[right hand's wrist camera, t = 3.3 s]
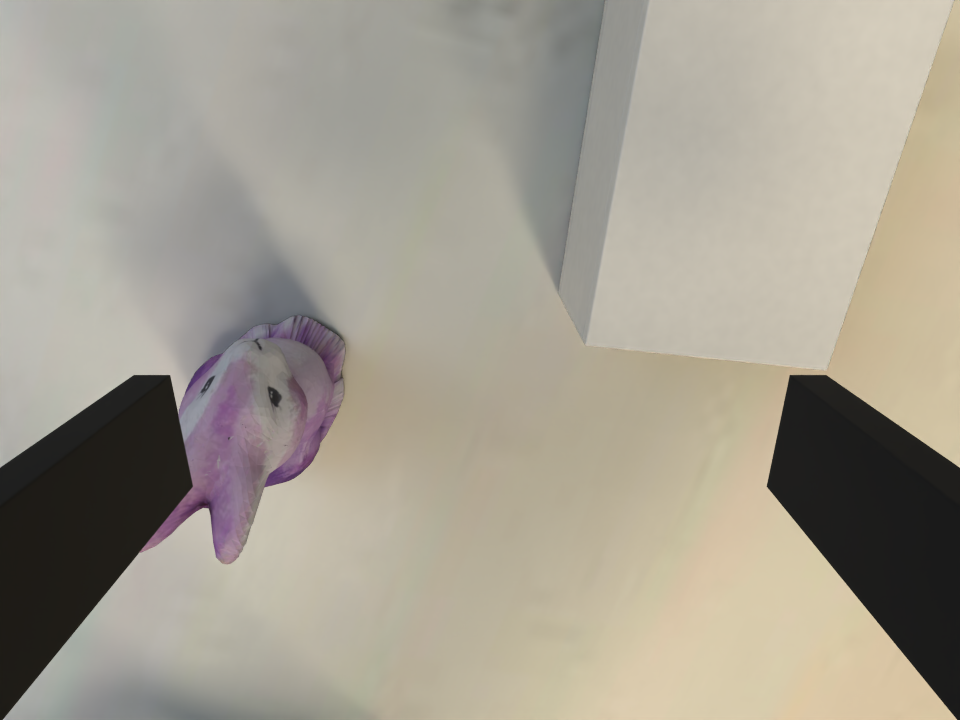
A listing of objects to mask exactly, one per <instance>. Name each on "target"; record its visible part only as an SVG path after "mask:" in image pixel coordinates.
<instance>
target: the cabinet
mask: <svg viewBox="0 0 960 720" xmlns="http://www.w3.org/2000/svg"><path fill="white" fill-rule="evenodd" d="M954 1H955V0H605V5H604V11H603V17H602V23H601V30H600V36H599V42H598V48H597V54H596V61H595V67H594V73H593V79H592V85H591V92H590V98H589V104H588V110H587V116H586V123H585V129H584V135H583V141H582V148H581V154H580V160H579V166H578V172H577V179H576V185H575V191H574V197H573V203H572V210H571V216H570V222H569V228H568V234H567V241H566V247H565V253H564V259H563V265H562V272H561V278H560V284H559V290H558V295H559V296H560V298H561V300H562V302H563V304H564V306H565V308H566V310H567V312H568V314H569V316H570V318H571V320H572V321H573V323H574V325H575V327H576V329H577V331H578V333H579V335H580V337H581V339H582V340H583V342H584V344H585V346H591V347H601V348H610V349H620V350H630V351H639V352H649V353H659V354H668V355H678V356H688V357H697V358H707V359H717V360H726V361H736V362H746V363H755V364H765V365H775V366H784V367H794V368H804V369H813V370H823V371H826V370H827V369H828V366H829V363H830V360H831V357H832V354H833V352H834V349H835V346H836V343H837V340H838V337H839V334H840V331H841V328H842V325H843V323H844V320H845V317H846V314H847V311H848V308H849V305H850V302H851V299H852V296H853V294H854V291H855V288H856V285H857V282H858V279H859V276H860V273H861V270H862V267H863V265H864V262H865V259H866V256H867V253H868V250H869V247H870V244H871V241H872V238H873V236H874V233H875V230H876V227H877V224H878V221H879V218H880V215H881V212H882V209H883V207H884V204H885V201H886V198H887V195H888V192H889V189H890V186H891V183H892V180H893V178H894V175H895V172H896V169H897V166H898V163H899V160H900V157H901V154H902V151H903V149H904V146H905V143H906V140H907V137H908V134H909V131H910V128H911V125H912V122H913V120H914V117H915V114H916V111H917V108H918V105H919V102H920V99H921V96H922V94H923V91H924V88H925V85H926V82H927V79H928V76H929V73H930V70H931V67H932V65H933V62H934V59H935V56H936V53H937V50H938V47H939V44H940V41H941V38H942V36H943V33H944V30H945V27H946V24H947V21H948V18H949V15H950V12H951V9H952V7H953V4H954Z"/></svg>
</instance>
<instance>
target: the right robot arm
mask: <svg viewBox="0 0 960 720" xmlns="http://www.w3.org/2000/svg"><path fill="white" fill-rule="evenodd" d="M192 487H193V483H192V479H191V474H190V469H189V464H188V459H187V454H186V450H185V445H184V440H183V435H182V430H181V426H180V421H179V416H178V411H177V406H176V401H175V397H174V392H173V387H172V382H171V377H170V375H133V376H132V377H131V378H129V379H128V380H126V381H125V382H123V383H122V384H120V385H119V386H118V387H116V388H115V389H113V390H112V391H110V392H109V393H107V394H106V395H105V396H103V397H102V398H100V399H99V400H97V401H96V402H95V403H93V404H92V405H90V406H89V407H87V408H86V409H84V410H83V411H82V412H80V413H79V414H77V415H76V416H74V417H73V418H71V419H70V420H69V421H67V422H66V423H64V424H63V425H61V426H60V427H58V428H57V429H56V430H54V431H53V432H51V433H50V434H48V435H47V436H45V437H44V438H43V439H41V440H40V441H38V442H37V443H35V444H34V445H32V446H31V447H30V448H28V449H27V450H25V451H24V452H22V453H21V454H19V455H18V456H17V457H15V458H14V459H12V460H11V461H9V462H8V463H6V464H5V465H4V466H2V467H1V468H0V720H3V719H4V717H5V716H6V715H7V714H8V713H9V711H10V710H11V709H12V708H13V706H14V705H15V704H16V703H17V702H18V700H19V699H20V698H21V697H22V695H23V694H24V693H25V692H26V691H27V689H28V688H29V687H30V686H31V684H32V683H33V682H34V681H35V680H36V678H37V677H38V676H39V675H40V673H41V672H42V671H43V670H44V668H45V667H46V666H47V665H48V664H49V662H50V661H51V660H52V659H53V657H54V656H55V655H56V654H57V653H58V651H59V650H60V649H61V648H62V646H63V645H64V644H65V643H66V642H67V640H68V639H69V638H70V637H71V635H72V634H73V633H74V632H75V631H76V629H77V628H78V627H79V626H80V624H81V623H82V622H83V621H84V620H85V618H86V617H87V616H88V615H89V613H90V612H91V611H92V610H93V609H94V607H95V606H96V605H97V604H98V602H99V601H100V600H101V599H102V597H103V596H104V595H105V594H106V593H107V591H108V590H109V589H110V588H111V586H112V585H113V584H114V583H115V582H116V580H117V579H118V578H119V577H120V575H121V574H122V573H123V572H124V571H125V569H126V568H127V567H128V566H129V564H130V563H131V562H132V561H133V560H134V558H135V557H136V556H137V555H138V553H139V552H140V551H141V550H142V549H143V547H144V546H145V545H146V544H147V542H148V541H149V540H150V539H151V538H152V536H153V535H154V534H155V533H156V531H157V530H158V529H159V528H160V526H161V525H162V524H163V523H164V522H165V520H166V519H167V518H168V517H169V515H170V514H171V513H172V512H173V511H174V509H175V508H176V507H177V506H178V504H179V503H180V502H181V501H182V500H183V498H184V497H185V496H186V495H187V493H188V492H189V491H190V490H191V489H192ZM767 487H768V489H769V490H770V491H771V492H772V493H773V495H774V496H775V497H776V498H777V500H778V501H779V502H780V503H781V504H782V506H783V507H784V508H785V509H786V511H787V512H788V513H789V514H790V515H791V517H792V518H793V519H794V520H795V522H796V523H797V524H798V525H799V526H800V528H801V529H802V530H803V531H804V533H805V534H806V535H807V536H808V538H809V539H810V540H811V541H812V542H813V544H814V545H815V546H816V547H817V549H818V550H819V551H820V552H821V553H822V555H823V556H824V557H825V558H826V560H827V561H828V562H829V563H830V564H831V566H832V567H833V568H834V569H835V571H836V572H837V573H838V574H839V575H840V577H841V578H842V579H843V580H844V582H845V583H846V584H847V585H848V586H849V588H850V589H851V590H852V591H853V593H854V594H855V595H856V596H857V597H858V599H859V600H860V601H861V602H862V604H863V605H864V606H865V607H866V609H867V610H868V611H869V612H870V613H871V615H872V616H873V617H874V618H875V620H876V621H877V622H878V623H879V624H880V626H881V627H882V628H883V629H884V631H885V632H886V633H887V634H888V635H889V637H890V638H891V639H892V640H893V642H894V643H895V644H896V645H897V646H898V648H899V649H900V650H901V651H902V653H903V654H904V655H905V656H906V657H907V659H908V660H909V661H910V662H911V664H912V665H913V666H914V667H915V668H916V670H917V671H918V672H919V673H920V675H921V676H922V677H923V678H924V680H925V681H926V682H927V683H928V684H929V686H930V687H931V688H932V689H933V691H934V692H935V693H936V694H937V695H938V697H939V698H940V699H941V700H942V702H943V703H944V704H945V705H946V706H947V708H948V709H949V710H950V711H951V713H952V714H953V715H954V716H955V717H956V719H957V720H960V468H959V467H958V466H956V465H955V464H954V463H952V462H951V461H949V460H948V459H946V458H945V457H943V456H942V455H941V454H939V453H938V452H936V451H935V450H933V449H932V448H930V447H929V446H928V445H926V444H925V443H923V442H922V441H920V440H919V439H917V438H916V437H915V436H913V435H912V434H910V433H909V432H907V431H906V430H904V429H903V428H902V427H900V426H899V425H897V424H896V423H894V422H893V421H891V420H890V419H889V418H887V417H886V416H884V415H883V414H881V413H880V412H878V411H877V410H876V409H874V408H873V407H871V406H870V405H868V404H867V403H865V402H864V401H863V400H861V399H860V398H858V397H857V396H855V395H854V394H853V393H851V392H850V391H848V390H847V389H845V388H844V387H842V386H841V385H840V384H838V383H837V382H835V381H834V380H832V379H831V378H829V377H828V376H827V375H790V377H789V382H788V387H787V392H786V397H785V401H784V406H783V411H782V416H781V421H780V426H779V430H778V435H777V440H776V445H775V450H774V454H773V459H772V464H771V469H770V474H769V479H768V483H767Z"/></svg>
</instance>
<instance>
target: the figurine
mask: <svg viewBox="0 0 960 720" xmlns="http://www.w3.org/2000/svg"><path fill="white" fill-rule="evenodd" d="M344 358H345V344H344V341H342V340H341V339H340V337H339V336H338V335H337V334H336V333H333V332H332V331H329V329H326V328H325V326H322V325H321V324H318V323H317V321H314V320H313V319H310V318H308V317H303V316H300V315H298V316H292V317H290V318H288V319H286V320H284V321H283V322H281V323H279V324H277V325H272V324H262V325H258V326H254V327H253V328H252V329H250V330H249V331H248V332H247V333H246V334H245V335H243V336H242V337H241V338H240V339H239V340H237V341H235V342H234V343H233V344H232V345H231V346H230V347H229V348H228V349H227V350H226V351H225V352H224V353H222V354H219V355H216V356H214V357H212V358H210V359H209V360H208V361H207V362H205V363H204V364H203V365H202V366H201V367H200V368H199V369H198V370H197V371H196V372H195V374H194V376H193V378H192V379H191V381H190V383H189V385H188V387H187V389H186V392H185V395H184V397H183V400H182V402H181V406H180V409H179V421H180V426H181V430H182V435H183V440H184V445H185V450H186V454H187V459H188V464H189V469H190V474H191V479H192V483H193V487H192V489H191V490H190V491H189V492H188V493H187V495H186V496H185V497H184V498H183V500H182V501H181V502H180V503H179V504H178V506H177V507H176V508H175V509H174V511H173V512H172V513H171V514H170V515H169V517H168V518H167V519H166V520H165V522H164V523H163V524H162V525H161V526H160V528H159V529H158V530H157V531H156V533H155V534H154V535H153V536H152V538H151V539H150V540H149V541H148V542H147V544H146V545H145V546H144V547H143V549H142V550H141V551H140V552H143V551H145V550H148V549H150V548H152V547H155V546H156V545H157V544H159V543H160V542H161V541H163V540H164V539H165V538H167V537H168V536H169V535H170V534H172V533H173V532H174V530H175V529H176V528H177V527H178V526H179V525H180V524H182V523H183V522H184V521H185V520H186V519H187V518H188V517H190V516H191V515H192V514H193V513H195V512H196V511H198V510H200V509H202V508H209V511H210V515H211V524H212V534H213V543H214V548H215V553H216V558H217V559H218V560H219V561H220V562H221V563H222V564H231V563H232V562H233V561H235V560H236V559H237V558H238V557H239V554H240V553H241V552H242V550H243V547H244V546H245V544H246V542H247V538H248V535H249V531H250V528H251V525H252V524H253V521H254V518H255V515H256V511H257V508H258V505H259V502H260V499H261V496H262V493H263V490H264V487H267V486H272V485H276V484H279V483H283V482H287V481H290V480H291V479H293V478H295V477H297V476H298V475H299V474H301V473H302V472H303V471H304V470H305V469H306V468H307V467H308V466H309V465H310V464H311V462H312V461H313V459H314V457H315V456H316V454H317V452H318V450H319V446H320V442H321V441H322V440H323V438H324V437H325V436H326V434H327V432H328V430H329V428H330V427H331V425H332V423H333V421H334V419H335V417H336V415H337V413H338V411H339V408H340V405H341V402H342V399H343V396H344V384H343V378H342V376H341V371H342V365H343V361H344Z"/></svg>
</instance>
